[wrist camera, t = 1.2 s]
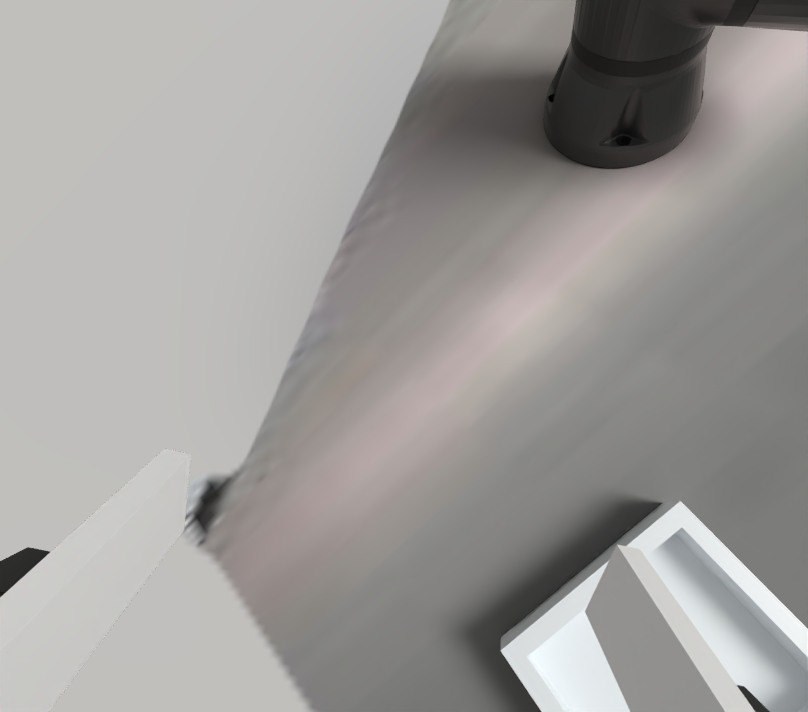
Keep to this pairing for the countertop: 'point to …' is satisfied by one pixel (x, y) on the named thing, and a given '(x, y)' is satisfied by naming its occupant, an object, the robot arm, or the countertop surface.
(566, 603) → the tray
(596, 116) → the robot arm
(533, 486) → the countertop surface
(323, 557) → the countertop surface
